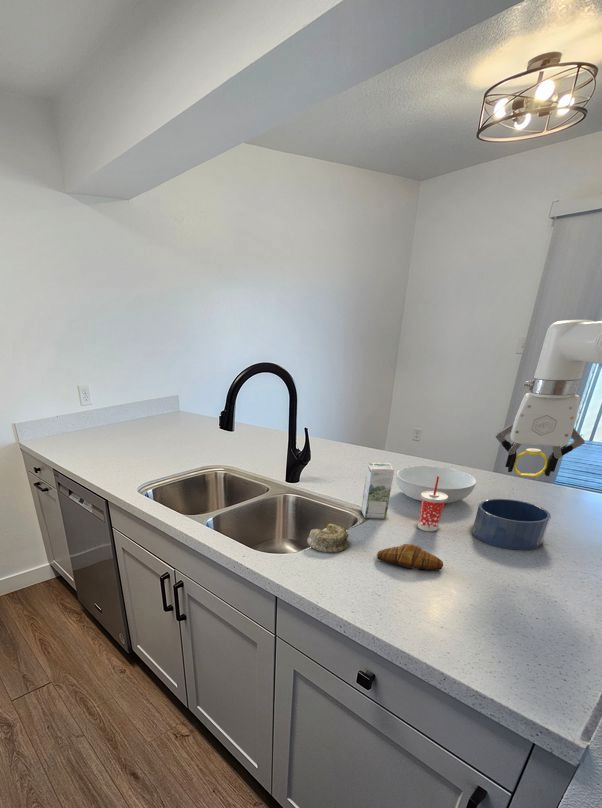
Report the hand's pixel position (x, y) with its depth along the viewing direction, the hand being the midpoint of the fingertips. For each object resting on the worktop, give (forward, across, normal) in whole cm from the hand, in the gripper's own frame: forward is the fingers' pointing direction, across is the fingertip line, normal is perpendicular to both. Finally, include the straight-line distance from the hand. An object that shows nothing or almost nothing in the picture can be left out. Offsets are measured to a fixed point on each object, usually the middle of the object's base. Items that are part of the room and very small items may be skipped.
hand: (528, 471), depth 97 cm
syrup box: (+18, -31, +2) cm, 36 cm away
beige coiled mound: (+18, -38, -20) cm, 46 cm away
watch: (+1, 0, 0) cm, 1 cm away
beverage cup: (+18, -17, 0) cm, 25 cm away
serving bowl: (+18, -19, +22) cm, 34 cm away
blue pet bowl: (+17, 0, +3) cm, 18 cm away
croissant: (+18, -18, -22) cm, 34 cm away
